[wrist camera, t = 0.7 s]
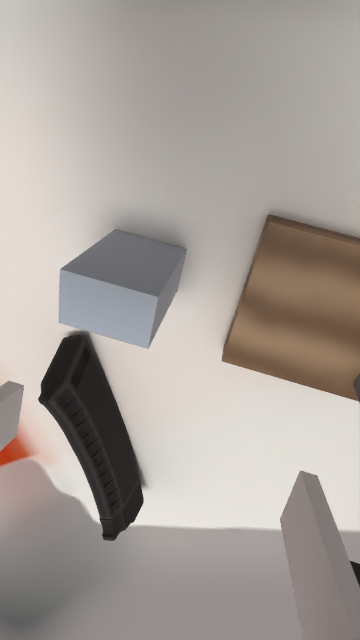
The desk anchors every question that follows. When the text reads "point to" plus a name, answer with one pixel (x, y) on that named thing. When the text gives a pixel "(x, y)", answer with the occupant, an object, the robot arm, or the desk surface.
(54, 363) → the magazine
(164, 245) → the slate gray rectangular prism
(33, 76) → the desk surface
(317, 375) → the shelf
